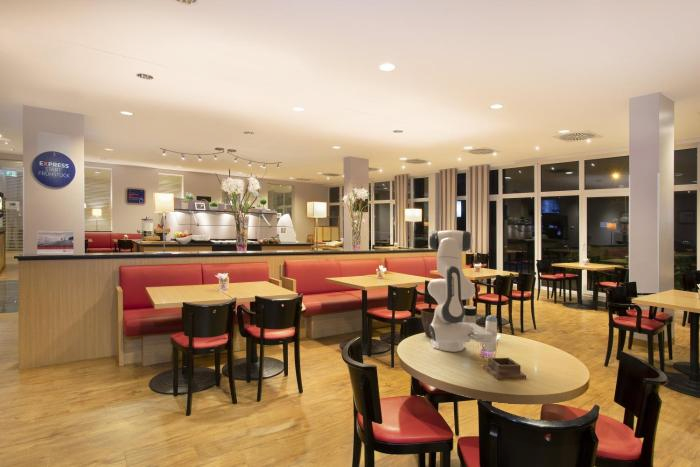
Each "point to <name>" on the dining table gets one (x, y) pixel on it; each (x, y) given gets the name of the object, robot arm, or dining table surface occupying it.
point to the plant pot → (427, 318)
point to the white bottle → (491, 327)
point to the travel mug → (470, 314)
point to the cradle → (504, 369)
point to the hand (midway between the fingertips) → (492, 331)
